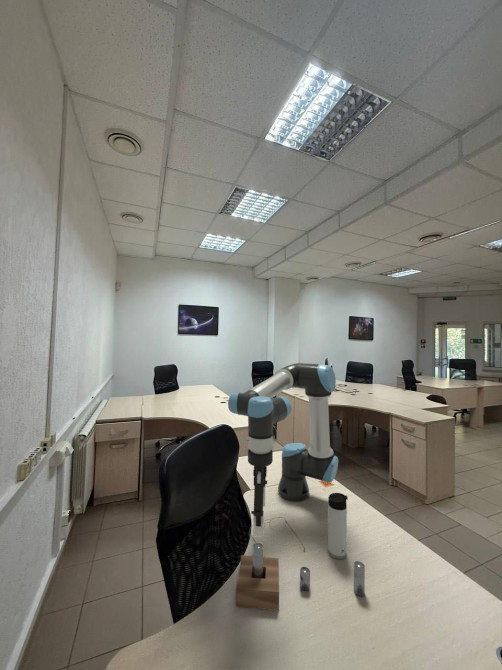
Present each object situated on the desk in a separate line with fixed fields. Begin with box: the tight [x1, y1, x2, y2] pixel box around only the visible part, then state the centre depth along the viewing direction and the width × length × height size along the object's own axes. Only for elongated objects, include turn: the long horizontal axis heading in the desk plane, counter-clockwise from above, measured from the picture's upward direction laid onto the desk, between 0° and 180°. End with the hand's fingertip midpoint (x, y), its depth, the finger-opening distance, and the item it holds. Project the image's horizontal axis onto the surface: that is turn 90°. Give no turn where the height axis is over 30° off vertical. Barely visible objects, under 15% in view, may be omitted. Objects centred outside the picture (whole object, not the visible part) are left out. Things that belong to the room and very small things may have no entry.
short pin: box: [299, 566, 311, 593], centre depth 84 cm, size 3×3×5 cm
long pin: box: [252, 542, 264, 579], centre depth 83 cm, size 3×3×13 cm
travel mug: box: [327, 492, 349, 560], centre depth 98 cm, size 6×7×20 cm
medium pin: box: [353, 560, 366, 598], centre depth 82 cm, size 3×3×8 cm
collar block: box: [235, 554, 280, 611], centre depth 83 cm, size 12×12×5 cm
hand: (259, 519), depth 83 cm, fingers open, 13 cm apart
